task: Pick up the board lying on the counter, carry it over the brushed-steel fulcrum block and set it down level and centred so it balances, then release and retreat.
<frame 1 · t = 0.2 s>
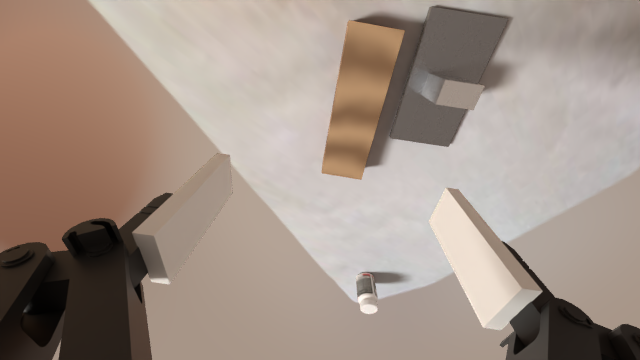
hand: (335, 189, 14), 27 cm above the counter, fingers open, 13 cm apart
pill bottle: (364, 276, 61), on the counter
fulcrum: (438, 85, 35), on the counter
board: (354, 106, 38), on the counter
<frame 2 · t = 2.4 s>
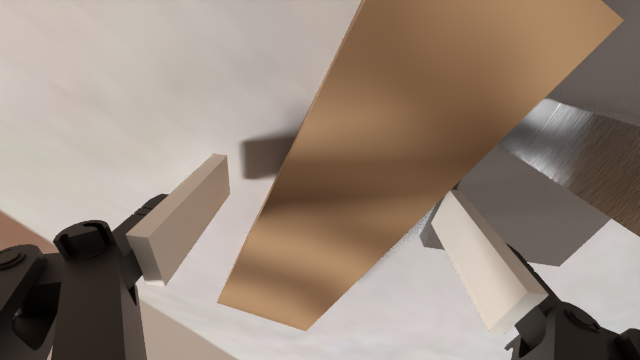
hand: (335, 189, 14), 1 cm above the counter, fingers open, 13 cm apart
fulcrum: (569, 133, 13), on the counter
board: (336, 174, 15), on the counter
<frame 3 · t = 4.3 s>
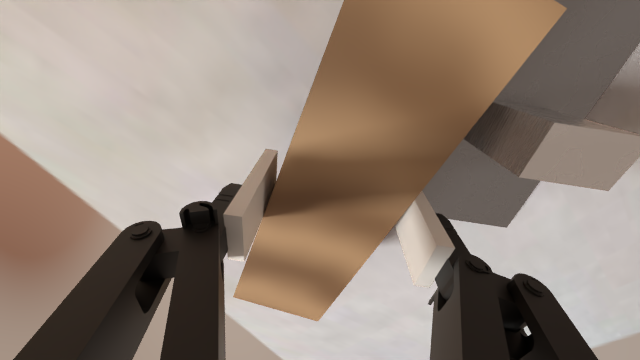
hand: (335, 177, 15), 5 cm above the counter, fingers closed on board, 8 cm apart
fulcrum: (498, 121, 18), on the counter
board: (335, 169, 16), point 4 cm above the counter, touching gripper
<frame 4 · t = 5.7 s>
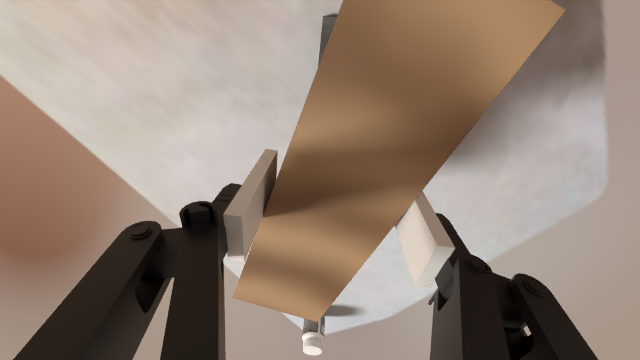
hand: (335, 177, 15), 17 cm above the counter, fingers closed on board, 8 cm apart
pill bottle: (315, 309, 55), on the counter
fulcrum: (353, 106, 30), on the counter
board: (334, 170, 16), point 16 cm above the counter, touching gripper
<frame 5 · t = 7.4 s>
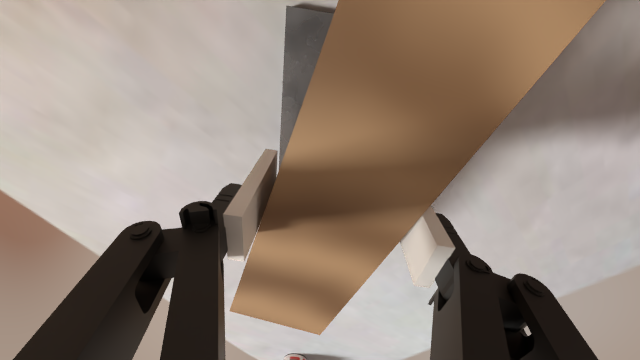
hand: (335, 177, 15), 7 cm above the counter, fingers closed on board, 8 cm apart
pill bottle: (295, 357, 47), on the counter
fulcrum: (336, 136, 21), on the counter
board: (336, 175, 15), point 7 cm above the counter, touching fulcrum, gripper
when the fingers open (6 cm above the counter, at t = 8.5 s): board stays where it is, resting on fulcrum.
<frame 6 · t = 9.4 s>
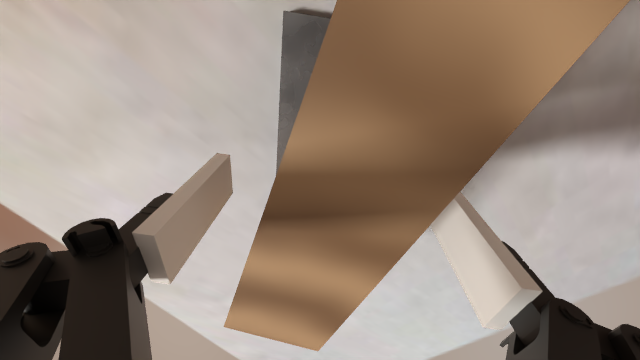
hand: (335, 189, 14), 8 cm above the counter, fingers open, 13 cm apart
fulcrum: (335, 143, 21), on the counter
board: (334, 186, 15), point 7 cm above the counter, touching fulcrum
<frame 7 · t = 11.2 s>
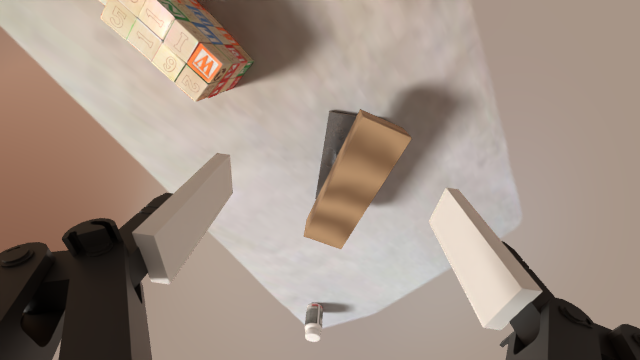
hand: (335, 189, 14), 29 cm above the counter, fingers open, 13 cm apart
pill bottle: (315, 306, 68), on the counter
fulcrum: (347, 161, 44), on the counter
stack of blocks: (189, 20, 35), on the counter
board: (348, 179, 38), point 7 cm above the counter, touching fulcrum
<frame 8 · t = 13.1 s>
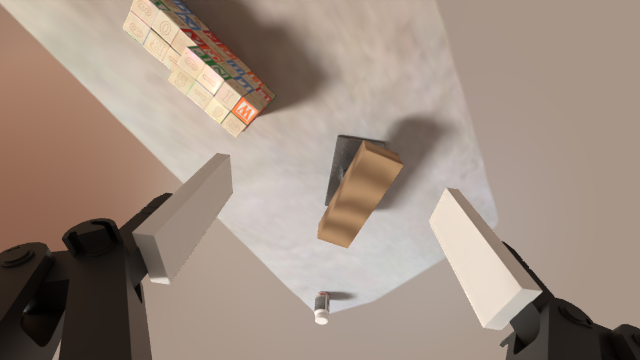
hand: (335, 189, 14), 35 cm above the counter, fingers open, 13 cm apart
pill bottle: (322, 295, 78), on the counter
fulcrum: (352, 175, 53), on the counter
stack of blocks: (223, 64, 43), on the counter
board: (354, 192, 47), point 7 cm above the counter, touching fulcrum
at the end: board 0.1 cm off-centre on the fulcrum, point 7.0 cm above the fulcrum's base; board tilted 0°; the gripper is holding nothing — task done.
